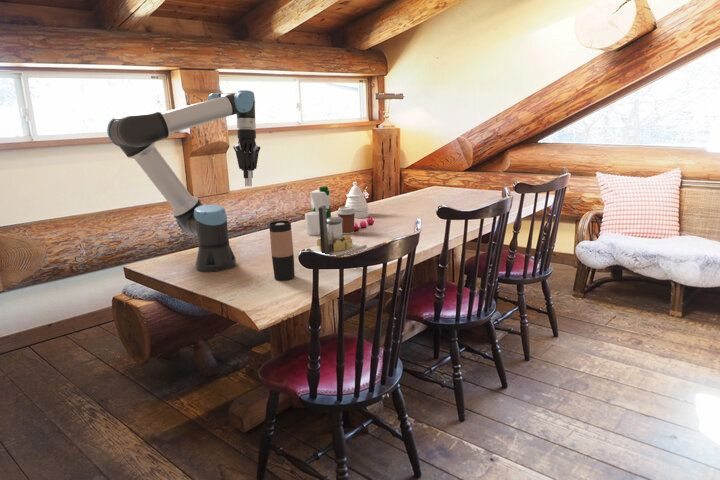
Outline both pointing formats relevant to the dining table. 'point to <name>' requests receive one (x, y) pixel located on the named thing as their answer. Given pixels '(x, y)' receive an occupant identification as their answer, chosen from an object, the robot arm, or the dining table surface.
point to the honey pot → (357, 201)
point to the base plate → (355, 246)
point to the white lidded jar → (334, 229)
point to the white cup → (312, 223)
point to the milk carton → (321, 200)
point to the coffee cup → (347, 219)
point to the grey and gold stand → (323, 243)
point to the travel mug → (282, 250)
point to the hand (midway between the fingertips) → (248, 186)
